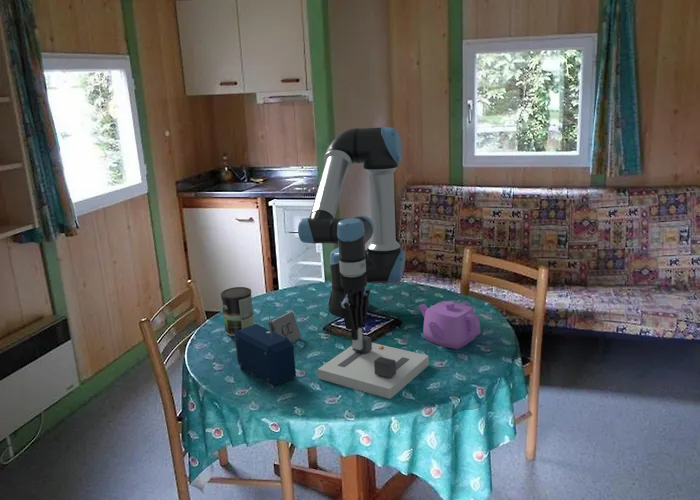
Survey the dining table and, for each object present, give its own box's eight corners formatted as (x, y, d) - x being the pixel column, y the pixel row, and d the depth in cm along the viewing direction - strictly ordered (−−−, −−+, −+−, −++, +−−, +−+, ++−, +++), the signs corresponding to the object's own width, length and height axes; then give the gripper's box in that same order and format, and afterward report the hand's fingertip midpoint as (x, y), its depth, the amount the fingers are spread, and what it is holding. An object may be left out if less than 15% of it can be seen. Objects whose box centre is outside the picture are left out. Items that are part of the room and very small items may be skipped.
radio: (300, 378, 182) (294, 314, 177) (275, 389, 177) (268, 323, 171) (259, 356, 198) (253, 296, 192) (235, 366, 192) (228, 305, 186)
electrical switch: (281, 348, 202) (276, 321, 200) (270, 346, 205) (265, 319, 203) (301, 338, 209) (297, 311, 207) (290, 336, 212) (285, 310, 210)
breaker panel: (360, 348, 199) (359, 338, 198) (428, 365, 185) (428, 354, 185) (318, 378, 182) (317, 368, 181) (390, 399, 168) (389, 388, 167)
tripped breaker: (358, 346, 193) (357, 334, 192) (371, 349, 190) (371, 337, 189) (352, 350, 190) (351, 337, 189) (366, 353, 188) (365, 341, 186)
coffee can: (227, 338, 212) (222, 299, 208) (223, 327, 221) (218, 289, 217) (257, 333, 215) (253, 294, 211) (252, 322, 224) (248, 284, 220)
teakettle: (483, 348, 194) (483, 310, 191) (428, 352, 194) (427, 314, 190) (470, 326, 211) (469, 291, 207) (419, 330, 210) (418, 295, 206)
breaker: (380, 369, 177) (379, 356, 176) (395, 373, 175) (395, 360, 173) (374, 374, 175) (374, 361, 174) (390, 378, 172) (389, 364, 171)
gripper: (351, 281, 174) (356, 359, 181) (376, 268, 184) (380, 342, 191) (329, 278, 178) (334, 354, 185) (355, 264, 188) (359, 337, 195)
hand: (357, 348), depth 188 cm, fingers closed
